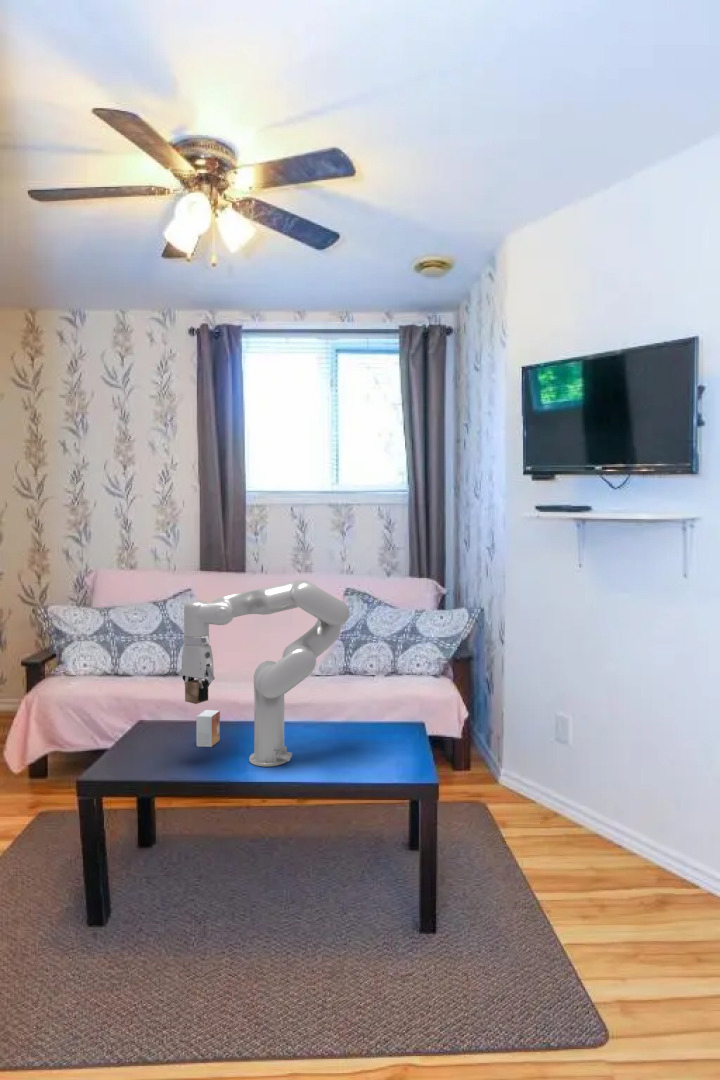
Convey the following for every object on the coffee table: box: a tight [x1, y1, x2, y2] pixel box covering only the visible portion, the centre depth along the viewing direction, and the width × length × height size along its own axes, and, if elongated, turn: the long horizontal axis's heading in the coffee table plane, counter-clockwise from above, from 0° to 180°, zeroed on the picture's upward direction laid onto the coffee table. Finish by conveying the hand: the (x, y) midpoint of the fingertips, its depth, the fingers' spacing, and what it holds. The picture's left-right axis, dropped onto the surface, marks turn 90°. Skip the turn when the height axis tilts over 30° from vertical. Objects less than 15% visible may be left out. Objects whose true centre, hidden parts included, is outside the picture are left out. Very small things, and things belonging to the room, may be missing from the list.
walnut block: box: [184, 678, 209, 705], centre depth 209 cm, size 5×5×6 cm
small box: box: [195, 709, 221, 748], centre depth 230 cm, size 8×6×10 cm
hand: (196, 698), depth 209 cm, fingers closed on walnut block, 5 cm apart
